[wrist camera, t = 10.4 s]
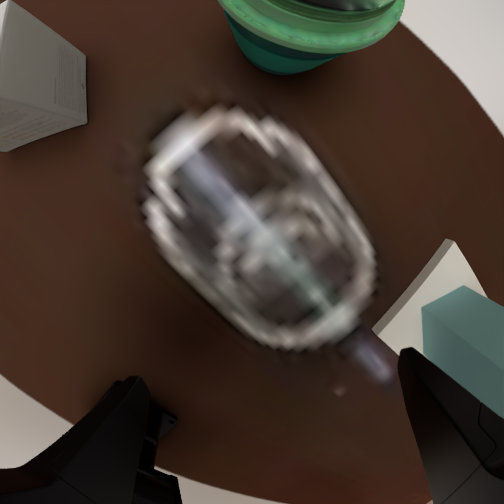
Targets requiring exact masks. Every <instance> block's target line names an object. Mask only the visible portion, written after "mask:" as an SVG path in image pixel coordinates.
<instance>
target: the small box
mask: <svg viewBox="0 0 504 504" xmlns="http://www.w3.org/2000/svg"><path fill="white" fill-rule="evenodd" d="M86 123H87V105H86V56H85V55H84V54H83V53H82V52H80V51H79V50H78V49H77V48H75V47H74V46H73V45H71V44H70V43H69V42H68V41H66V40H65V39H64V38H62V37H61V36H60V35H58V34H57V33H56V32H54V31H53V30H52V29H50V28H49V27H48V26H46V25H45V24H44V23H42V22H41V21H40V20H38V19H37V18H35V17H34V16H33V15H31V14H30V13H29V12H27V11H26V10H24V9H23V8H21V7H20V6H19V5H17V4H16V3H14V2H13V1H11V0H6V1H5V2H3V3H1V4H0V151H1V152H8V151H10V150H12V149H15V148H17V147H20V146H22V145H25V144H27V143H30V142H32V141H35V140H38V139H40V138H43V137H46V136H49V135H52V134H55V133H58V132H60V131H63V130H66V129H70V128H73V127H76V126H79V125H83V124H86Z"/></svg>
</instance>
